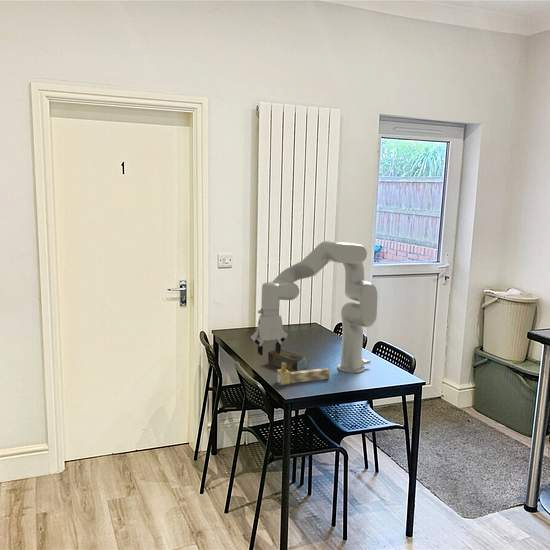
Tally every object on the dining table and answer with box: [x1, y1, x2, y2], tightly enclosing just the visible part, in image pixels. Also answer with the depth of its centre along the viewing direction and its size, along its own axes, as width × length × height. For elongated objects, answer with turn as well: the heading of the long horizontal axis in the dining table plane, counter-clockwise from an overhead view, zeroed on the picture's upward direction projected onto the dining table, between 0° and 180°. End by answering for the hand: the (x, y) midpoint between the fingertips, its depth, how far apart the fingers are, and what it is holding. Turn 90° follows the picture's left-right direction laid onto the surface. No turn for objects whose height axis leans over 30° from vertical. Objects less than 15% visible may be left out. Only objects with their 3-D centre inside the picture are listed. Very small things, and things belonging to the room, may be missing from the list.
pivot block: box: [277, 373, 282, 386], centre depth 233 cm, size 4×3×4 cm
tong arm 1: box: [289, 367, 329, 383], centre depth 239 cm, size 18×1×4 cm, turn 112°
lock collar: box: [276, 362, 291, 386], centre depth 233 cm, size 4×5×9 cm
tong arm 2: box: [290, 368, 330, 384], centre depth 237 cm, size 18×1×4 cm, turn 113°
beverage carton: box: [267, 349, 309, 372], centre depth 256 cm, size 8×19×7 cm, turn 46°
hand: (269, 353), depth 229 cm, fingers open, 7 cm apart
